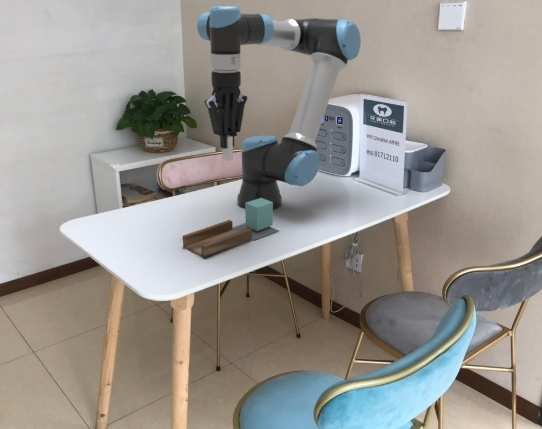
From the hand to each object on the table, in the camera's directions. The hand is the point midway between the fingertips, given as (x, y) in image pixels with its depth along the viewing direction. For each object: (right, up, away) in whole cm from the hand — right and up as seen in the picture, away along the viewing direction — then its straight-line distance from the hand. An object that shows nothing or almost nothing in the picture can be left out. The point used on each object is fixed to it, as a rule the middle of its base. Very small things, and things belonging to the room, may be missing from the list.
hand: (227, 159), depth 147 cm
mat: (+7, -20, +15) cm, 26 cm away
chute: (-3, -24, +6) cm, 25 cm away
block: (+8, -19, +17) cm, 27 cm away
